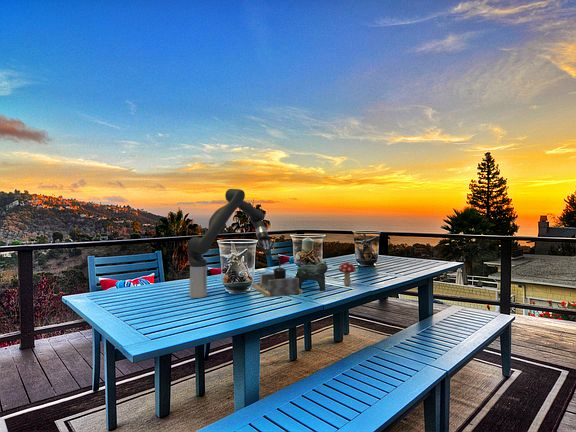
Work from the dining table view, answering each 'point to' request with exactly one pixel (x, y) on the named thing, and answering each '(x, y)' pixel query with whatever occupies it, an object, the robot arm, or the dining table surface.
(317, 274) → the dark green legged piece
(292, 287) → the vise frame
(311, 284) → the dining table surface
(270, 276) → the sliding jaw
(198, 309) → the dining table surface
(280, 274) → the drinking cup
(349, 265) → the decorative mushroom
